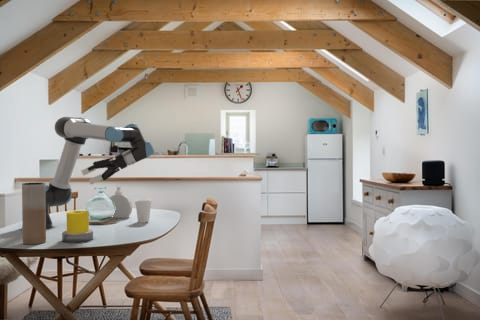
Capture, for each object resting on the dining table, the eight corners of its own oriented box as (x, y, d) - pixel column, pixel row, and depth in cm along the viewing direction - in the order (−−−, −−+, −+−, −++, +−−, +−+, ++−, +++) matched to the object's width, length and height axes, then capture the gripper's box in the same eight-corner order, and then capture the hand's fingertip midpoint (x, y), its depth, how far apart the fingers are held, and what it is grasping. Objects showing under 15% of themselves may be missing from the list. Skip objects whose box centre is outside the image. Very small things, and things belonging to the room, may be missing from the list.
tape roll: (66, 230, 220) (65, 211, 220) (87, 229, 224) (87, 210, 224) (67, 234, 211) (67, 214, 211) (90, 232, 215) (89, 212, 215)
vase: (18, 244, 208) (17, 184, 207) (31, 240, 218) (30, 182, 217) (37, 245, 206) (37, 184, 205) (50, 240, 216) (49, 182, 215)
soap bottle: (105, 218, 286) (104, 186, 285) (107, 216, 291) (107, 185, 290) (130, 218, 285) (130, 186, 285) (132, 216, 291) (132, 185, 290)
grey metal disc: (58, 239, 220) (58, 231, 220) (88, 236, 228) (88, 228, 228) (66, 244, 208) (66, 235, 208) (96, 240, 216) (96, 232, 216)
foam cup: (132, 221, 272) (132, 200, 271) (146, 220, 278) (146, 198, 277) (140, 223, 264) (140, 201, 264) (154, 222, 271) (154, 200, 270)
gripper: (122, 156, 222) (81, 175, 218) (132, 174, 245) (95, 191, 241) (116, 144, 224) (76, 162, 220) (126, 162, 248) (90, 179, 243)
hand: (86, 177), depth 230 cm, fingers open, 13 cm apart
